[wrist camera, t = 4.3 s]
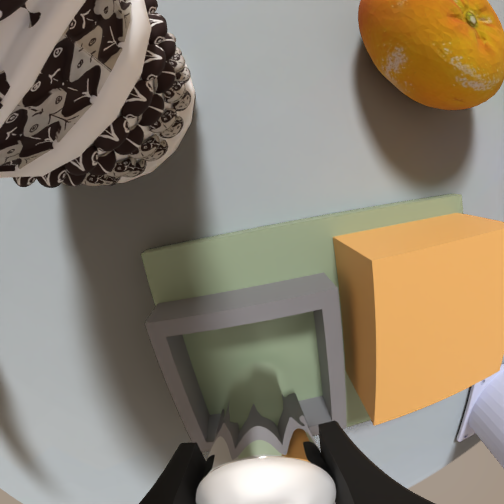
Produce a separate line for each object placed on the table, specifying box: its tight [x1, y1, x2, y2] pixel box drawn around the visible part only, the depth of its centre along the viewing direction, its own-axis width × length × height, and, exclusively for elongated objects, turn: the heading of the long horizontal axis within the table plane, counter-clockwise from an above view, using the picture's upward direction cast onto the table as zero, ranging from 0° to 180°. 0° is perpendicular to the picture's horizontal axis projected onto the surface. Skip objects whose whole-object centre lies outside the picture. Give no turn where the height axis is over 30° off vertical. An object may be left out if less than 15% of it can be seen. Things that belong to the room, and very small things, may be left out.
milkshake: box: [196, 362, 336, 504], centre depth 10 cm, size 4×5×10 cm
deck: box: [141, 194, 504, 452], centre depth 14 cm, size 18×14×6 cm
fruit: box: [358, 0, 504, 110], centre depth 11 cm, size 8×9×8 cm
